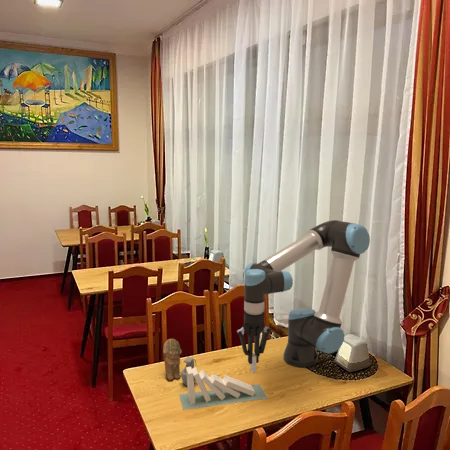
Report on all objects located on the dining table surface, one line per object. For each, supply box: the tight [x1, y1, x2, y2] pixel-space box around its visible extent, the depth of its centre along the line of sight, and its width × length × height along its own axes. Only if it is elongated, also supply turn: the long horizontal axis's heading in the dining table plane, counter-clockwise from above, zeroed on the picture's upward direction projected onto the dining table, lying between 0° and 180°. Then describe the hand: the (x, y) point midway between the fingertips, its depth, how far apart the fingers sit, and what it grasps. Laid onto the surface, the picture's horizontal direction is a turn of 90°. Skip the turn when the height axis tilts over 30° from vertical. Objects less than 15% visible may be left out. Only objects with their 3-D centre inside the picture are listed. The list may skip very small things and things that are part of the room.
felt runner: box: [178, 384, 269, 411], centre depth 158 cm, size 32×10×1 cm, turn 104°
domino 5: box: [222, 374, 255, 396], centre depth 159 cm, size 2×5×12 cm
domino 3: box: [198, 369, 225, 400], centre depth 157 cm, size 2×5×12 cm
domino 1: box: [186, 367, 196, 405], centre depth 155 cm, size 2×5×12 cm, turn 14°
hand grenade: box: [180, 356, 197, 387], centre depth 167 cm, size 6×6×11 cm
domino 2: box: [192, 366, 211, 402], centre depth 156 cm, size 2×5×12 cm, turn 14°
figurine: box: [162, 338, 183, 381], centre depth 173 cm, size 8×8×15 cm
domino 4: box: [209, 372, 240, 398], centre depth 158 cm, size 2×5×12 cm
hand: (253, 370), depth 160 cm, fingers closed
